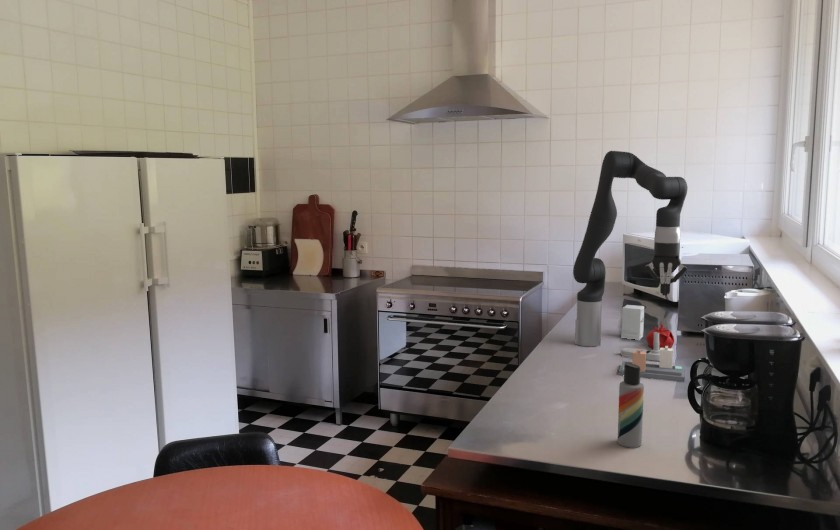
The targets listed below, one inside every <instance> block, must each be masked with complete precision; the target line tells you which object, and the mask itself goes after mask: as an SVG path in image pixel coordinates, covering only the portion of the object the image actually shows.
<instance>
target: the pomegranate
mask: <svg viewBox="0 0 840 530" xmlns="http://www.w3.org/2000/svg"><path fill="white" fill-rule="evenodd" d="M659 325H660V326H659V327H656V326H652V329H651V330H650V331H649V332H648V333H646V334H647V335H645V336H646V337H645V341H646V343H647V344H648V346H649V347H650V348H651V349H653V347H654V346H653V341H654V332H658V333H659V350H660V348H665V346H668V348H671V349H673V347H674V345H675V337H674V335H673V332H672V331H671V330H669V329H667V327H664V323H660V324H659Z"/></svg>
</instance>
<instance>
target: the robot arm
mask: <svg viewBox="0 0 840 530" xmlns="http://www.w3.org/2000/svg"><path fill="white" fill-rule="evenodd" d="M601 163H602V164H601V168H600V174H599V180H598V185H597V189H596V194H595V197H594V198H595V199H594V200H593V201H594V202H593V204H592V207H591V211H590V214H589V219H588V220H587V226H586V229H585V230H586V231H585V233H584V237H583V240H582V243H581V247H580V248H579V250H578V254H577V257H576V258H575V261H574V264H573V269H572V274H573V275H572V276H573V278H574V280H575V281H576V282H577V283H580V284H586V285H584V287H583V288H582V289H580V291H578V292H577V294H576V319H575V328H574V329H575V330H574V344H575V345H578V346H582V347H598V346H601V343H602V342H601V341H602V339H601V338H602V311H603V310H602V308H603V304H602V303H603V302H602V300H603V295H604V293H605V286H606V274H607V273H606V265H605V263H604V261H603V259H601V258H599V257H595V256H596V254H597V252H598V250H599V249H600V248H601V246H602V245H603V244H604V243H605V242H606V240H607V239H608V238H609V236H610V235H611V234H612V233H613V231H614V227H615V224H616V220H617V216H618V211H617V206H616V203H615V200H614V198H613V192H612V186H613V181H614V179H615V178H617V179H634V180H635V182H636V183H637V185H638V186H640V187H641V188H643V189H645V190H646V191H648V192H649V194H650V195H651V196H652V198H654V199H657V200H661V201H662V200H663V201H664V200H669V202H668V204H667V205H666V206H662V207H660V208H658V209H657V210H656V217H655V230H654V237H653V239H654V240H653V241H654V243H653V244H654V245H653V257H652V259H651V262H650V263H649V264H646V265H645V270H646V271H647V273H648V274H649V276H651V277H652V279H653V280H654V281H655V282H658V283H659V284H660V287H659V289H660V291H659V292H660V294H662V296H668V295H669V294H670V293H671V284H673V283H677V281H678V280H679V279H680V278H681V277H682V276H683V275H684V274H685V272H686V271H688V267H687V266H686V265H683V263H681V262H682V261H681V259H680V250H681V249H680V248H681V246H680V245H681V231H680V230H681V212H682V210H683V207H684V202H685V200H686V198H687V195H688V189H689V188H688V183H687V181H686V179H685V178H683V177H681V176H667V175H666V174H665V173H664V172H663V171H660V170H659V169H656V168H654V167H651V166H649V165H647V163H645V162H644V161H643V160H642V159H640V158H639V157H638V156H636V154H634V153H633V152H629V151H619V150H609V151H608V152H607V153H605V155H604V157H603V160H602V162H601ZM654 269H656V271H658V272H659V275H660V276H658V275H657V274H656V272H655V271H654ZM677 269H678V272H677V273H676V274H675V275H674V276H673V277H672V274H673V273H674V272H675V271H676V270H677ZM665 273H666V278H665Z"/></svg>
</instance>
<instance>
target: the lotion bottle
mask: <svg viewBox="0 0 840 530" xmlns="http://www.w3.org/2000/svg"><path fill="white" fill-rule="evenodd" d="M640 370H641V368H640V367H639V366H637V365H635V364H626V365H625V366H624V376H623V381H620V382H619V387H618V389H619V390H618V392H619V393H618V413H617V414H618V419H617V443H618V444H619V445H620V446H622V447H625V448H632V449H634V448H639V447H641V445H642V441H643V426H644V425H643V422H644V421H643V419H644V394H645V391H644V390H645V385H644V383H642V382H641V377H640Z"/></svg>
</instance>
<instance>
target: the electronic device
mask: <svg viewBox="0 0 840 530" xmlns="http://www.w3.org/2000/svg"><path fill="white" fill-rule="evenodd" d="M653 346H654V347H653V348H652V349H642V348H640V349H641V351H643V352H646V361H647V360H648V361H655V362H659V360H660V350H659V333H658V332H654V341H653ZM638 349H639V348H632V347H625V348H621V350H620V356H621V355H622V356H621V357H624V356H625V357H624V358H629V357H632V355H633V351H638Z"/></svg>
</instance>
